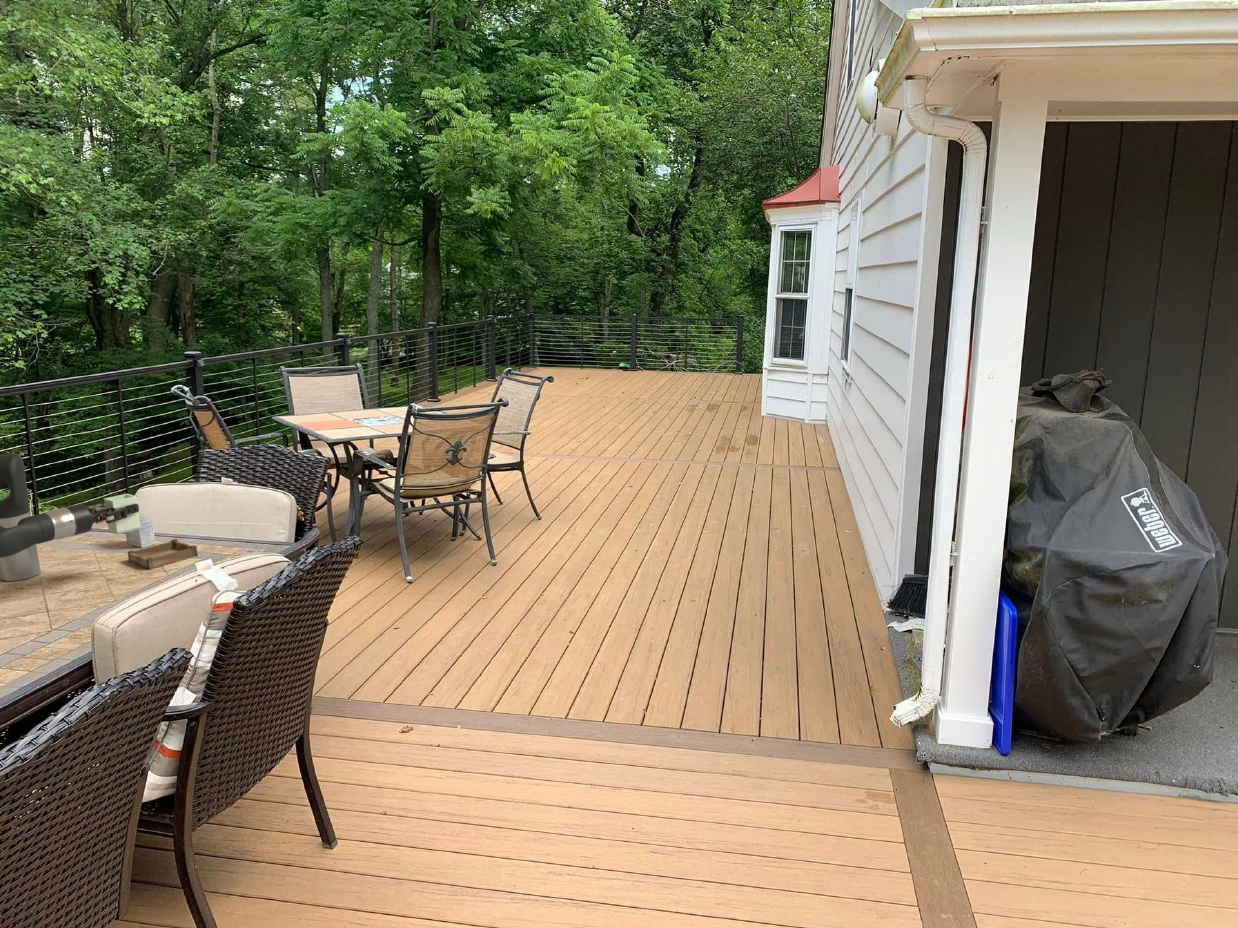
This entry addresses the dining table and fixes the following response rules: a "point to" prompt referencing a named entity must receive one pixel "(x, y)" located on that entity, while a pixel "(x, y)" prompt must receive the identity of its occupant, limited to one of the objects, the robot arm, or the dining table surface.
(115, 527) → the small square vase
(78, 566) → the dining table surface
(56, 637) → the dining table surface
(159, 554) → the walnut crate
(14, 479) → the robot arm
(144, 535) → the medicine box
